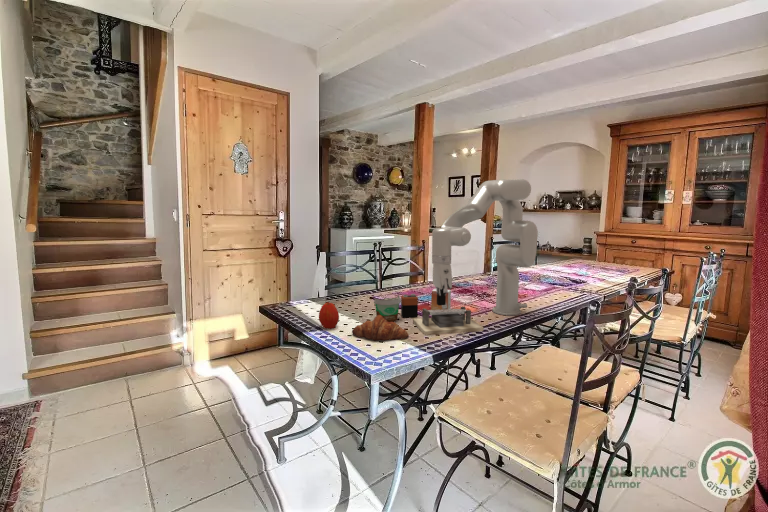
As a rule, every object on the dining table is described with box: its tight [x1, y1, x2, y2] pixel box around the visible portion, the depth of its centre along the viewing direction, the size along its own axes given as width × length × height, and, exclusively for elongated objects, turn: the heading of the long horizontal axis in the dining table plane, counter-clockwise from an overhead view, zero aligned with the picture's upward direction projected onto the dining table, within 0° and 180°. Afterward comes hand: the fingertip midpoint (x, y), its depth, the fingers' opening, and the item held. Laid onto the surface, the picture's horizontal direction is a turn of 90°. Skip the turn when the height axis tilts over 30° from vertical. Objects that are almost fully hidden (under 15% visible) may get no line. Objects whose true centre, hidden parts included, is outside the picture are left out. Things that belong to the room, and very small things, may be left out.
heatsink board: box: [412, 306, 485, 336], centre depth 150 cm, size 24×16×8 cm, turn 102°
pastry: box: [351, 315, 410, 342], centre depth 139 cm, size 17×15×8 cm
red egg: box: [318, 301, 340, 330], centre depth 148 cm, size 8×8×11 cm
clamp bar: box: [427, 308, 467, 316], centre depth 149 cm, size 17×4×1 cm, turn 102°
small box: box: [430, 288, 452, 310], centre depth 170 cm, size 8×6×10 cm
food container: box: [373, 295, 401, 323], centre depth 157 cm, size 12×6×10 cm, turn 117°
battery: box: [400, 293, 419, 319], centre depth 164 cm, size 4×7×10 cm, turn 98°
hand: (441, 304), depth 148 cm, fingers closed
